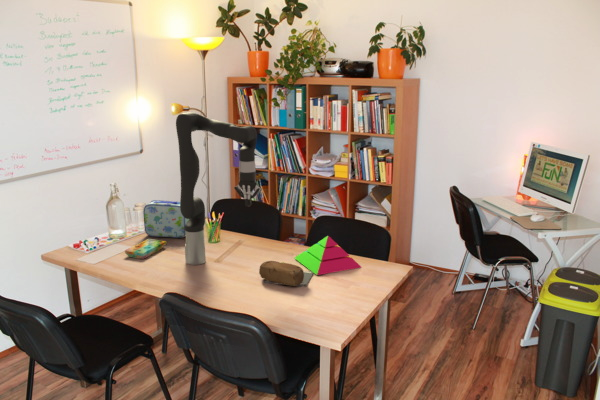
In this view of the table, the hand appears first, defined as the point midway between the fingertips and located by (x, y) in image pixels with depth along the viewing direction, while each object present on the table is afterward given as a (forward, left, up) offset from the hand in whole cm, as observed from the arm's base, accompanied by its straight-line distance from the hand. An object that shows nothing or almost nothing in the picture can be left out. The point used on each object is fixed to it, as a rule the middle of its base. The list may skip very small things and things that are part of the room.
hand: (248, 206), depth 248 cm
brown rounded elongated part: (+8, -4, -29) cm, 30 cm away
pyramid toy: (+34, +19, -33) cm, 51 cm away
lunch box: (-64, +41, -33) cm, 83 cm away
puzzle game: (-63, +14, -34) cm, 73 cm away
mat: (+20, -3, -33) cm, 39 cm away
